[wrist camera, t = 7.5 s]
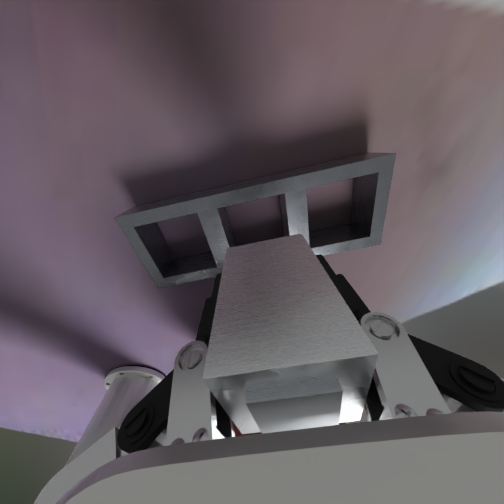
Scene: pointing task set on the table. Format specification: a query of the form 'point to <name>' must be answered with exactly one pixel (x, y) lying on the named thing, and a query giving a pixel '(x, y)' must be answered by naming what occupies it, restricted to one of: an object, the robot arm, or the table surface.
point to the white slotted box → (285, 342)
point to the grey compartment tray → (283, 184)
